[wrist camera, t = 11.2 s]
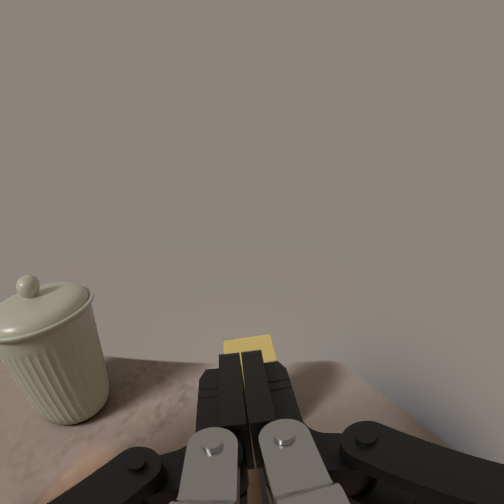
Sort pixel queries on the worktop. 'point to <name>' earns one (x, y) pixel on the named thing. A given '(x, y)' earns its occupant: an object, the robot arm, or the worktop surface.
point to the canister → (54, 349)
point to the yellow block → (251, 347)
